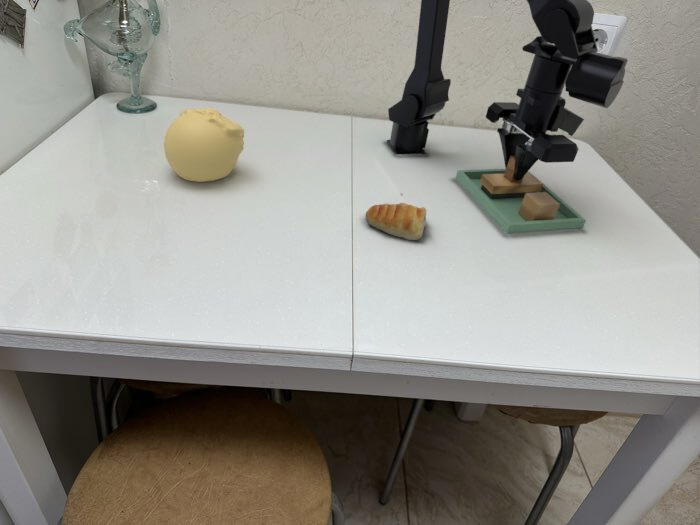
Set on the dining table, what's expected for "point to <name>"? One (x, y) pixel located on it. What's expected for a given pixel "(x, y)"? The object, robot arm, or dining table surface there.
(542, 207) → the wooden cube
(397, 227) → the pastry
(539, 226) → the tray
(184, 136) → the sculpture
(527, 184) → the wooden stamp
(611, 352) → the dining table surface
